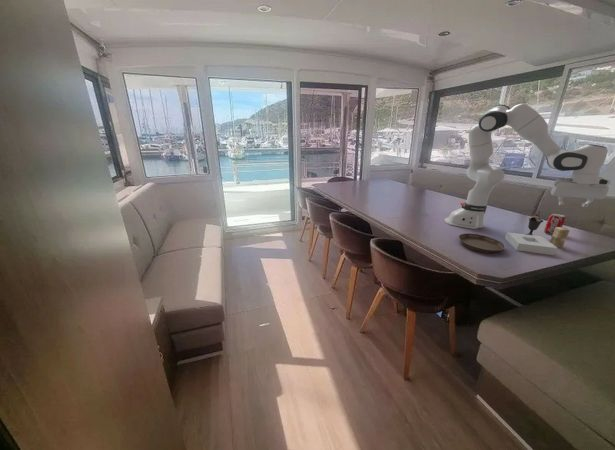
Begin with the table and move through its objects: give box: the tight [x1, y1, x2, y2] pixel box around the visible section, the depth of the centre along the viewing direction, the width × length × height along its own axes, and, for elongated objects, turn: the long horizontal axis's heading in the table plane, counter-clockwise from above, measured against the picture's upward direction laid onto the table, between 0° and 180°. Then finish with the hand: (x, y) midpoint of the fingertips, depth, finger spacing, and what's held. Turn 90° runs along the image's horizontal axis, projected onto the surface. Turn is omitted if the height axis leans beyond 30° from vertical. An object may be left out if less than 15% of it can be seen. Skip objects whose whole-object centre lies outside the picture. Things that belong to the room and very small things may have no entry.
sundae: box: [525, 211, 544, 235], centre depth 143 cm, size 7×7×15 cm
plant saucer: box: [458, 233, 505, 254], centre depth 131 cm, size 21×21×3 cm
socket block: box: [504, 231, 559, 256], centre depth 131 cm, size 16×16×4 cm
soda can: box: [543, 213, 566, 235], centre depth 148 cm, size 7×7×12 cm
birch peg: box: [549, 226, 571, 249], centre depth 132 cm, size 4×4×10 cm
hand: (572, 205), depth 125 cm, fingers open, 8 cm apart
